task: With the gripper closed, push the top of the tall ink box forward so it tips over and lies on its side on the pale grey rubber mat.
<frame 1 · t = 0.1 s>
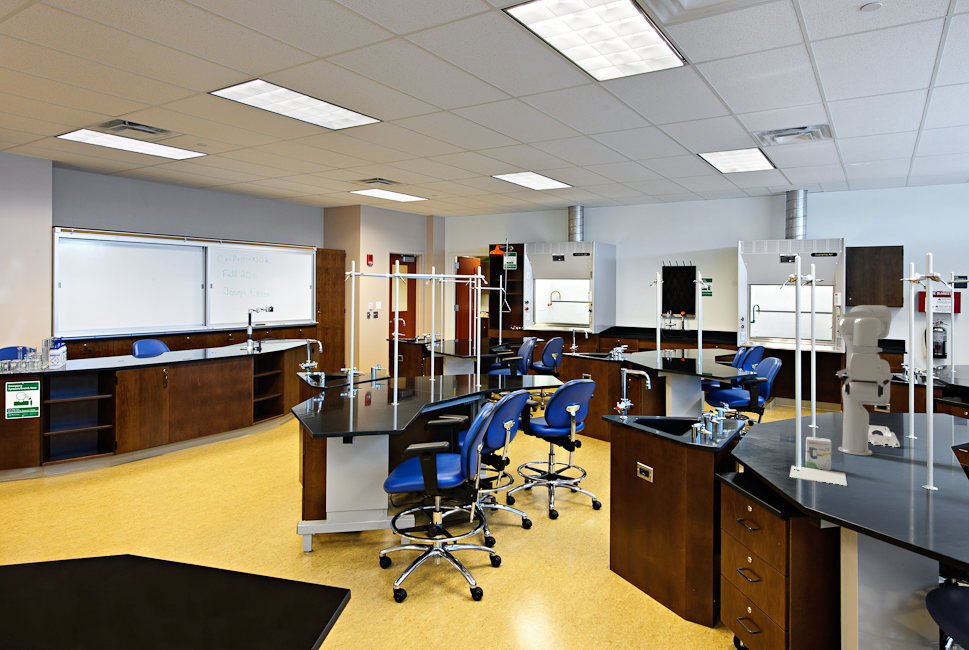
hand: (863, 395, 203), 31 cm above the table, tool pointing down, fingers open, 9 cm apart
bench mat: (817, 475, 205), on the table
mounting bracket: (882, 445, 257), on the table
ink box: (817, 468, 215), on the table
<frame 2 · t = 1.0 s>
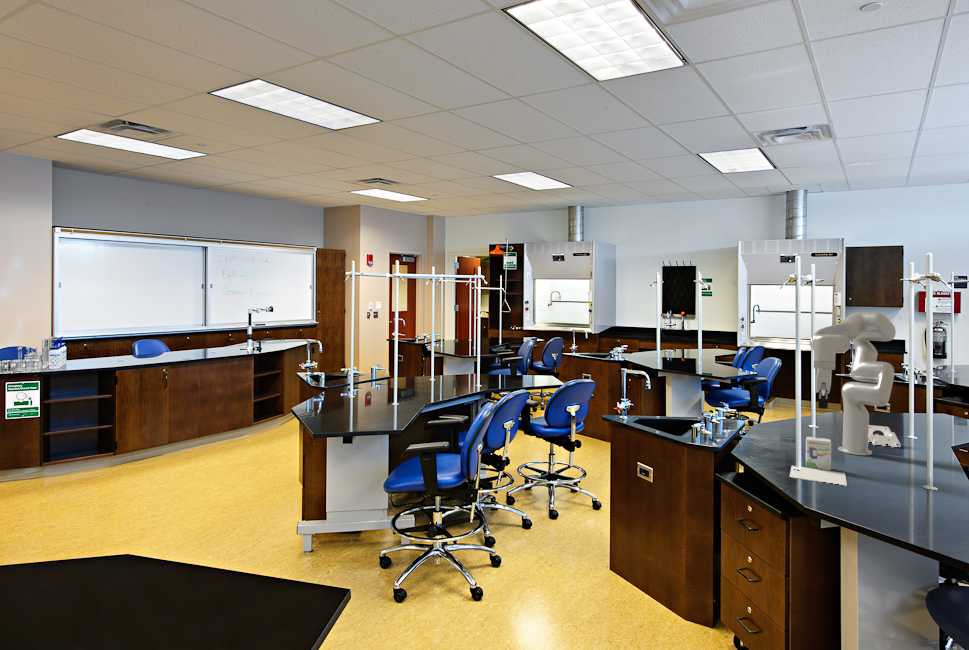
hand: (823, 406, 221), 24 cm above the table, tool pointing down, fingers open, 9 cm apart
nothing on the table moved.
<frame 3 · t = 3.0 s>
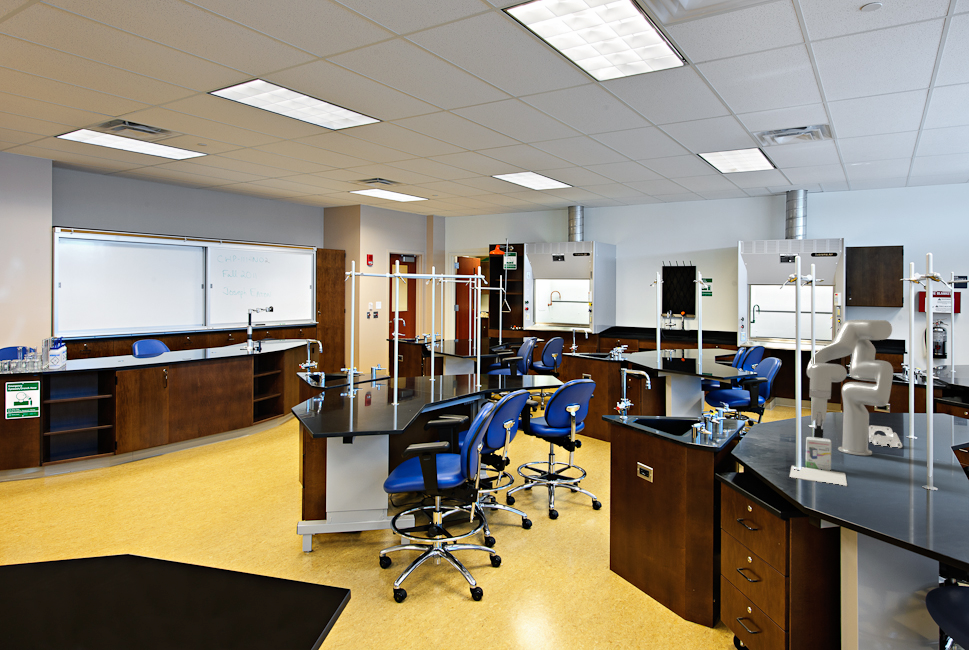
hand: (818, 438, 222), 10 cm above the table, tool pointing down, fingers closed
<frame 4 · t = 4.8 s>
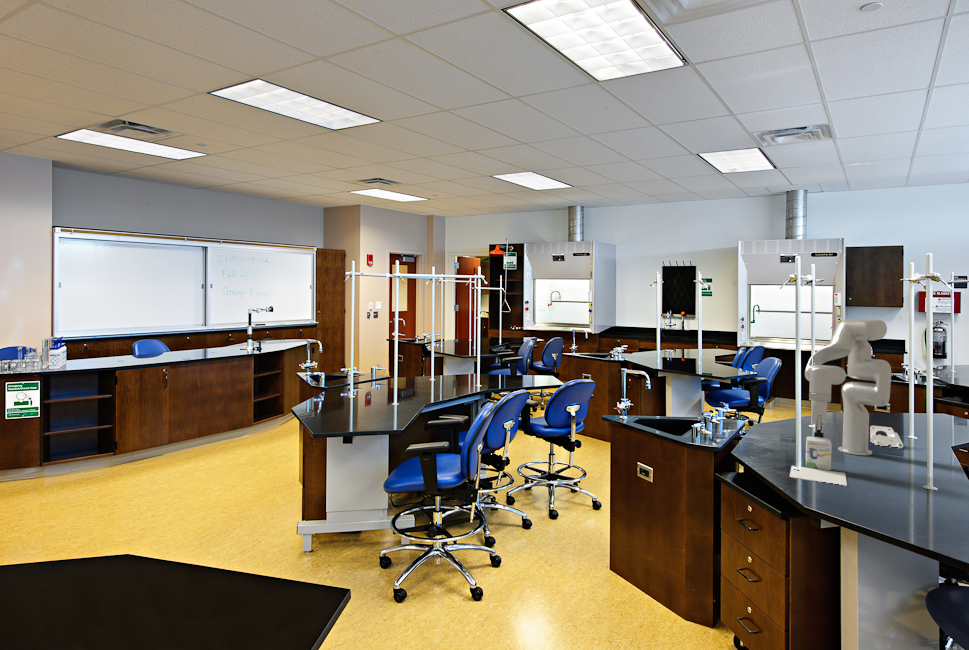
hand: (818, 442, 218), 10 cm above the table, tool pointing down, fingers closed
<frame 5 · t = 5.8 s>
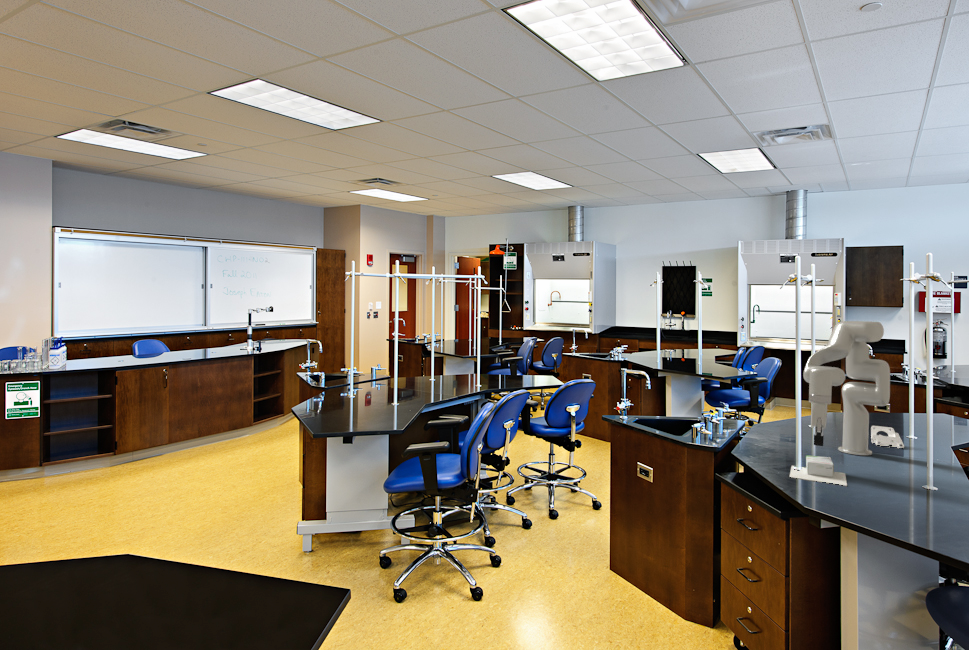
hand: (818, 445, 213), 10 cm above the table, tool pointing down, fingers closed
ink box: (818, 462, 214), point 3 cm above the table, touching bench mat
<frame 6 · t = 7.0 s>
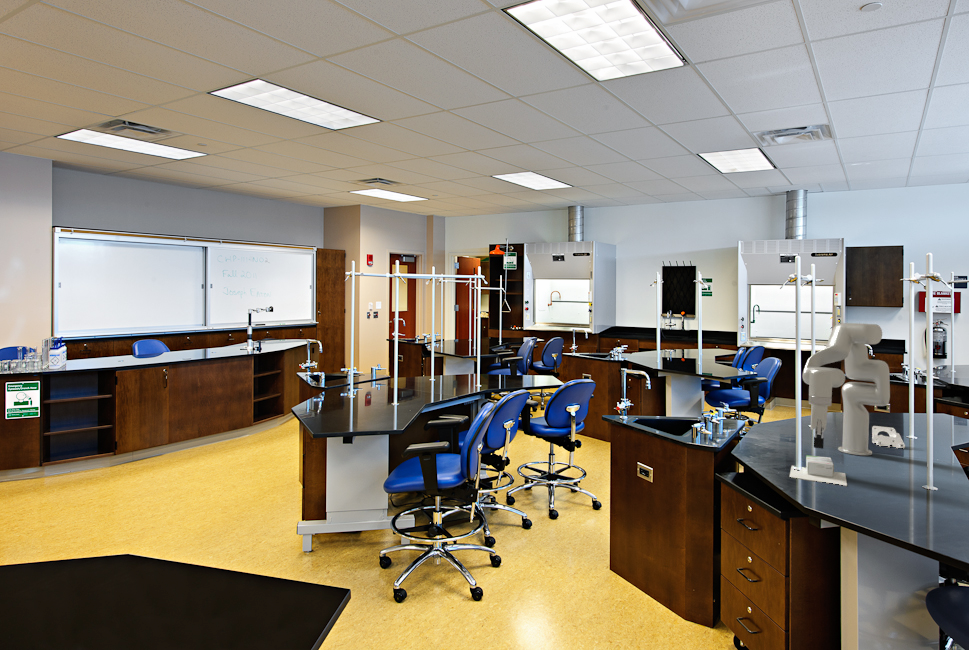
hand: (818, 447, 209), 10 cm above the table, tool pointing down, fingers closed
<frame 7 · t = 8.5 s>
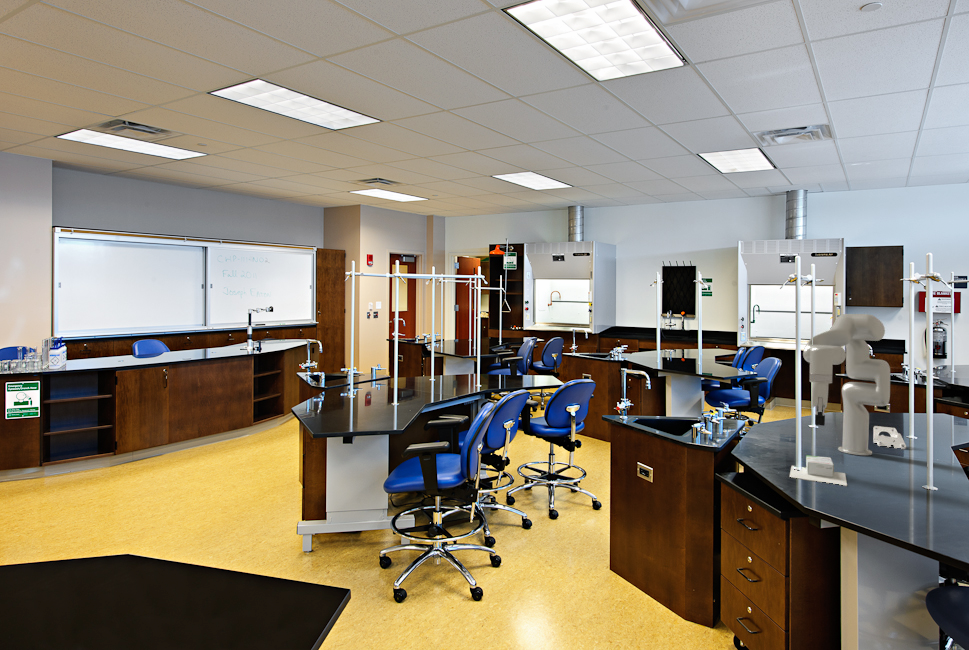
hand: (819, 424, 210), 18 cm above the table, tool pointing down, fingers closed
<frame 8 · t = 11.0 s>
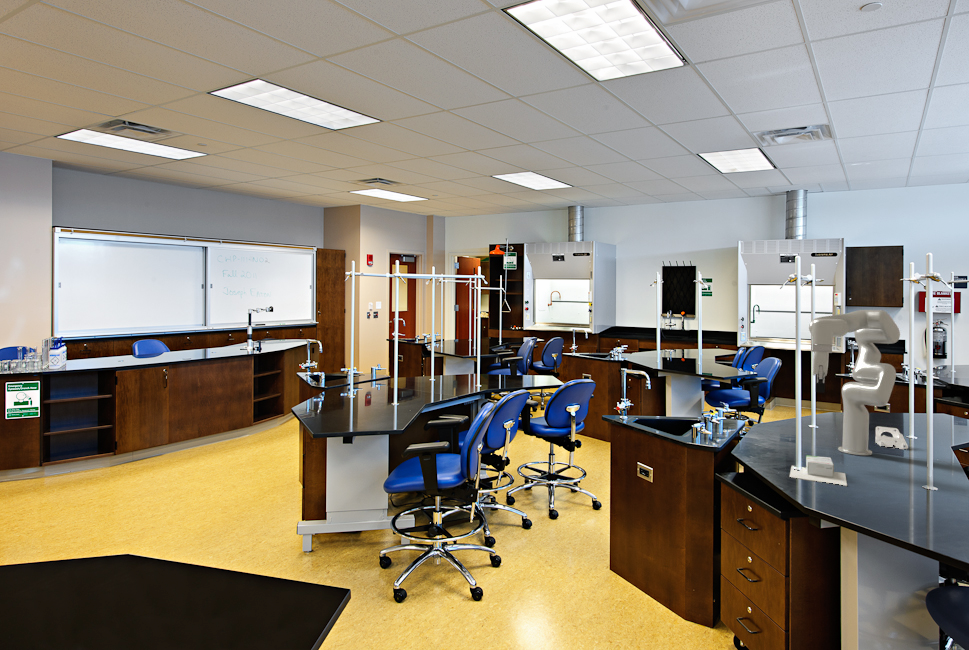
hand: (820, 392, 225), 29 cm above the table, tool pointing down, fingers closed
at the end: ink box tilted 89°; ink box inside the target area (5.0 cm from its centre), point 2.7 cm above the table; the gripper is holding nothing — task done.
